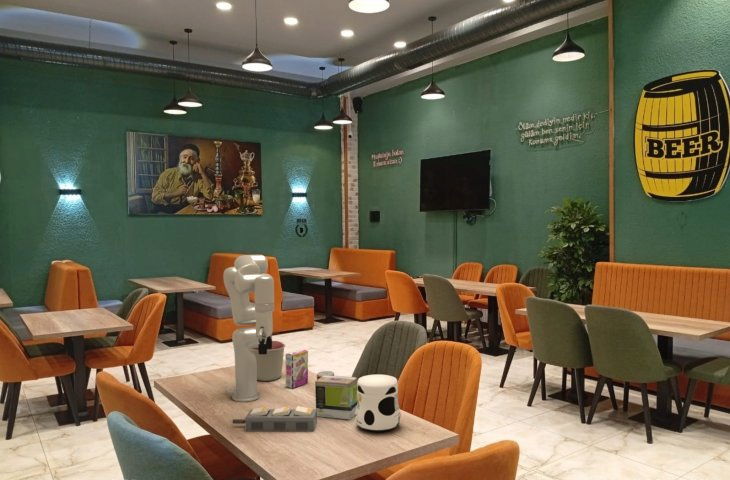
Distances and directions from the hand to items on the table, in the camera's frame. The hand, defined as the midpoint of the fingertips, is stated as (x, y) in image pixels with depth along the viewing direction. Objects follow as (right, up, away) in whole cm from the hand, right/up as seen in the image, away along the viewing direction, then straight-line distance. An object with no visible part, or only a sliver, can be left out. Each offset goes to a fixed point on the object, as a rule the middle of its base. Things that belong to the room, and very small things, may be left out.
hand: (265, 351), depth 211 cm
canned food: (+22, -27, +30) cm, 46 cm away
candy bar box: (+6, -27, +49) cm, 56 cm away
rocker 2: (+7, -22, -4) cm, 24 cm away
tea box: (+28, -28, +9) cm, 40 cm away
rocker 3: (+15, -22, -5) cm, 28 cm away
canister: (-10, -27, +61) cm, 68 cm away
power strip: (+4, -28, -4) cm, 29 cm away
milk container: (+44, -28, -5) cm, 52 cm away
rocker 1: (-2, -23, -4) cm, 23 cm away
